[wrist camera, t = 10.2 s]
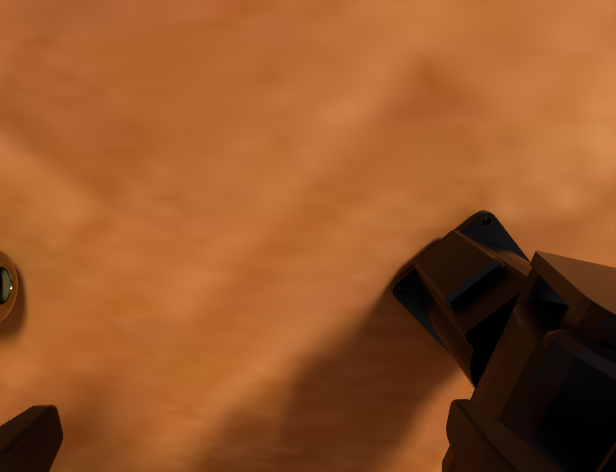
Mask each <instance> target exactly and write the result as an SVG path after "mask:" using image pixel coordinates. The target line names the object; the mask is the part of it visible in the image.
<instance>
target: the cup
mask: <svg viewBox="0 0 616 472" xmlns="http://www.w3.org/2000/svg"><path fill="white" fill-rule="evenodd" d="M17 290H18V280H17V273H16V270H15V267H14V264H13V262H12V261H11V259H10V258H9V256H8V255H7V254H6V253H4V252H3V251H1V250H0V322H1V321H2V320H4V319H5V318H6V317H7V316H8V314H9V313H10V311H11V310H12V308H13V306H14V303H15V300H16V296H17Z"/></svg>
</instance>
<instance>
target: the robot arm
mask: <svg viewBox="0 0 616 472" xmlns="http://www.w3.org/2000/svg"><path fill="white" fill-rule="evenodd" d="M485 217H487V221H486V222H485V223H484V224H481V221H482V219H483V218H485ZM400 286H404V288H403V290H401V291H397V289H398V287H400ZM390 288H391V291H392V293H393V295H394V296H395V297H396V298H397V299H398V300H399V301H400V302H401V303H402V304H403V306H404V307H405V308H406V309H407V310H408V311H409V312H410V313H411V314H412V315H413V316H414V317H415V318H416V319H417V320H418V321H419V322H420V323H421V324H422V325H423V326H424V327H425V328H426V329H427V330H428V331H429V332H430V333H431V334H432V335H433V336H434V338H435V339H436V340H437V341H438V342H439V343H440V344H441V345H442V346H443V347H444V348H445V349H446V350H447V351H448V352H449V353H450V354H451V355H452V356H453V358H454V359H455V361H456V362H457V364H458V365H459V367H460V368H461V370H462V371H463V372H464V374H465V375H466V377H467V378H468V380H469V381H470V383H471V384H472V386H473V387H474V389H475V390H474V392H473V395H472V397H471V399H470V400H468V399H456V400H453V401H452V402H451V405H450V410H449V415H448V420H447V425H446V433H447V438H448V441H449V444H450V446H449V448H448V450H447V452H446V455H445V457H444V459H443V461H442V472H616V268H613V267H609V266H604V265H599V264H595V263H590V262H586V261H581V260H577V259H572V258H567V257H563V256H558V255H554V254H549V253H545V252H540V251H536V252H535V254H534V256H533V258H532V261H531V262H530V261H529V260H528V258H527V257H526V256H525V254H524V253H523V252H522V251H521V249H520V248H519V247H518V245H517V244H516V243H515V241H514V240H513V239H512V238H511V236H510V235H509V234H508V232H507V231H506V230H505V229H504V227H503V226H502V225H501V223H500V222H499V221H498V220H497V218H496V217H495V216H494V215H493V214H492V213H490V212H488V211H485V210H483V211H479V212H477V213H476V214H475V215H474V216H472V217H471V218H470V219H469V220H467V221H466V222H465V223H464V224H463V225H461V226H460V227H459V228H458V229H456V230H455V231H451V232H449V233H448V234H447V235H446V236H445V237H443V238H442V239H441V240H440V241H438V242H437V243H436V244H435V245H434V246H432V247H431V248H430V249H429V250H427V251H426V252H425V253H424V254H423V255H421V256H420V257H419V258H418V259H417V260H416V261H415V264H414V265H413V266H411V267H410V268H409V269H408V270H406V271H405V272H404V273H403V274H402V275H400V276H399V277H398V278H397V279H395V280H394V281H393V282H392V284H391V286H390ZM62 440H63V430H62V426H61V421H60V417H59V413H58V409H57V408H56V406H54V405H35V406H32V407H31V408H29V409H27V410H26V411H24V412H22V413H21V414H19V415H18V416H16V417H14V418H13V419H11V420H9V421H8V422H6V423H5V424H3V425H1V426H0V472H49V470H50V468H51V466H52V464H53V462H54V459H55V457H56V455H57V453H58V451H59V449H60V446H61V444H62Z"/></svg>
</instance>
